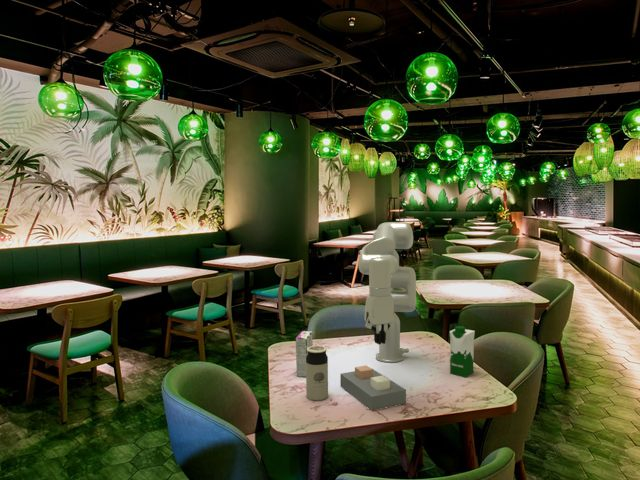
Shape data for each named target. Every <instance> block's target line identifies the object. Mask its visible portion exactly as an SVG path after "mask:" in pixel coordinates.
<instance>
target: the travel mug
mask: <svg viewBox="0 0 640 480" xmlns="http://www.w3.org/2000/svg"><path fill="white" fill-rule="evenodd" d="M327 351H328V348H327V347H326V346H323V345H313V346H310V347H308V348H307V352H308V354H307V356H306V377H305V379H306V381H305V382H306V383H305V384H306V386H305V387H306V388H305V389H306V390H305V393H306V397H307V398H308V399H309V400H311V401H322V400H323V401H324V400H325V399H327V398H328V397H329V378H328V377H329V370H328V369H329V367H328V366H329V365H328V364H329V361H328V360H329V357H328V355H327Z"/></svg>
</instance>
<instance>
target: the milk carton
mask: <svg viewBox="0 0 640 480" xmlns="http://www.w3.org/2000/svg"><path fill="white" fill-rule="evenodd" d="M475 332H476V331H475V330H472V329H466V327H465V326H463V325H456V326H454V329H452V330H450V331H449V338H450V341H449V345H450V347H449V351H450V352H449V359H450V360H449V374H451V375H455V376H458V377H462V378H468V377H469V376H471V375H472V373H473V374H474V361H475V360H474V358H475V357H474V351H475V349H474V346H475V345H474V344H475V343H474V342H475V334H476V333H475Z"/></svg>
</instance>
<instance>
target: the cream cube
mask: <svg viewBox="0 0 640 480" xmlns="http://www.w3.org/2000/svg"><path fill="white" fill-rule="evenodd" d="M384 376H385V375H383V376H377V377H372V378H371V387H372V388H374V389H375V390H376V391H381V390H386V389H390V380H391V379H390V380H389V378H388V377H387V376H385V377H384ZM387 378H388V379H387Z"/></svg>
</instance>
